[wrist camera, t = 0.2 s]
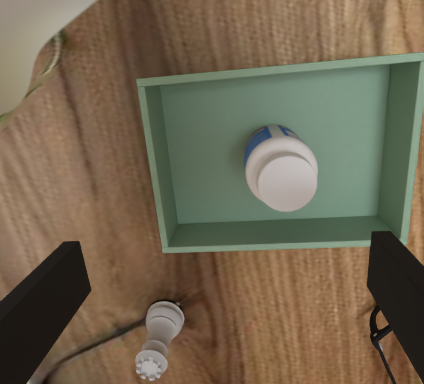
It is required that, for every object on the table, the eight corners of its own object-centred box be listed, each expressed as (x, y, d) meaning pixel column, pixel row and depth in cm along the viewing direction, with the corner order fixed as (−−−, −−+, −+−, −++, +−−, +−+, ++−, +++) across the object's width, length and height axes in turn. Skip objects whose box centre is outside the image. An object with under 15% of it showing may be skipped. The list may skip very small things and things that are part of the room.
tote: (153, 78, 30) (135, 79, 25) (396, 55, 28) (430, 51, 23) (174, 227, 35) (162, 253, 30) (381, 218, 33) (407, 245, 28)
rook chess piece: (167, 335, 40) (150, 394, 33) (140, 312, 40) (117, 368, 32) (192, 315, 39) (181, 373, 32) (165, 292, 38) (146, 345, 31)
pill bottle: (246, 182, 32) (248, 224, 23) (241, 127, 31) (240, 150, 22) (303, 176, 32) (328, 218, 23) (301, 120, 30) (326, 140, 21)
